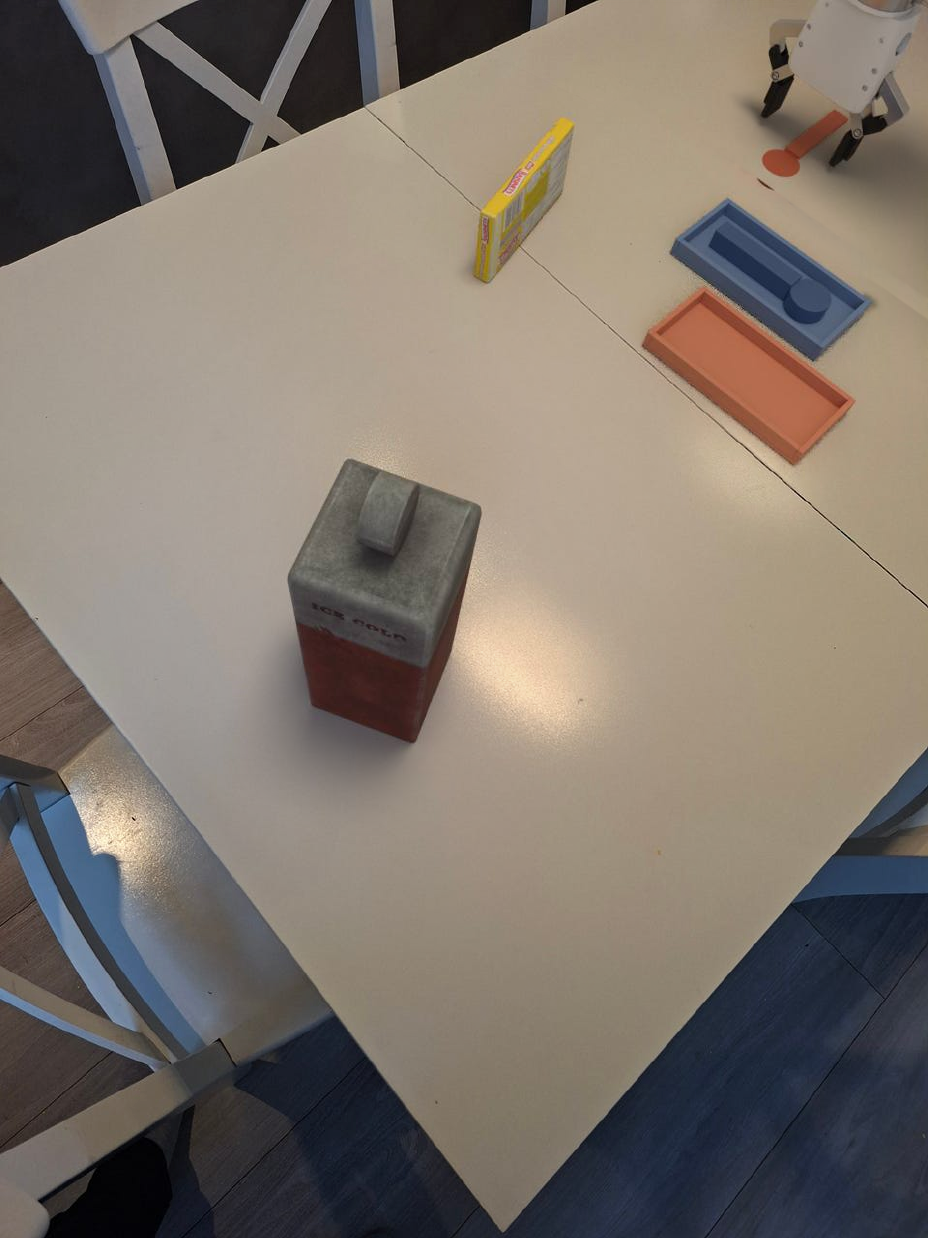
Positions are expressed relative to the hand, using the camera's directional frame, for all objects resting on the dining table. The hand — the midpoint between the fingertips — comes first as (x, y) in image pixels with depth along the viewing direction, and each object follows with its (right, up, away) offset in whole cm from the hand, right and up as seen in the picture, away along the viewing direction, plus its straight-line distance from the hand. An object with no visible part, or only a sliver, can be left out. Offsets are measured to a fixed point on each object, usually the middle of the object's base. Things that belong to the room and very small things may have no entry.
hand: (803, 136), depth 100 cm
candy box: (-33, -14, -6) cm, 36 cm away
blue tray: (-6, -19, -6) cm, 21 cm away
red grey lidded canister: (-46, -59, -28) cm, 79 cm away
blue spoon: (-6, -19, -7) cm, 21 cm away
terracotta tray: (-10, -30, -12) cm, 34 cm away
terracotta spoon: (0, -1, +2) cm, 3 cm away
